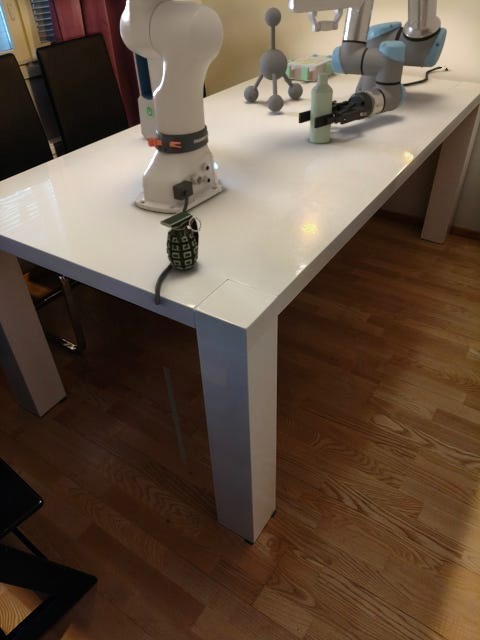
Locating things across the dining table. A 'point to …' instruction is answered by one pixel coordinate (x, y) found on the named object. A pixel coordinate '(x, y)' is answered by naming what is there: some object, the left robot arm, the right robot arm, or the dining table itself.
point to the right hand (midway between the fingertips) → (307, 120)
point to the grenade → (182, 240)
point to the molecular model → (273, 68)
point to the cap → (326, 25)
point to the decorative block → (309, 67)
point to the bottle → (320, 108)
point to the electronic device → (148, 92)
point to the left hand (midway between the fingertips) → (324, 30)
